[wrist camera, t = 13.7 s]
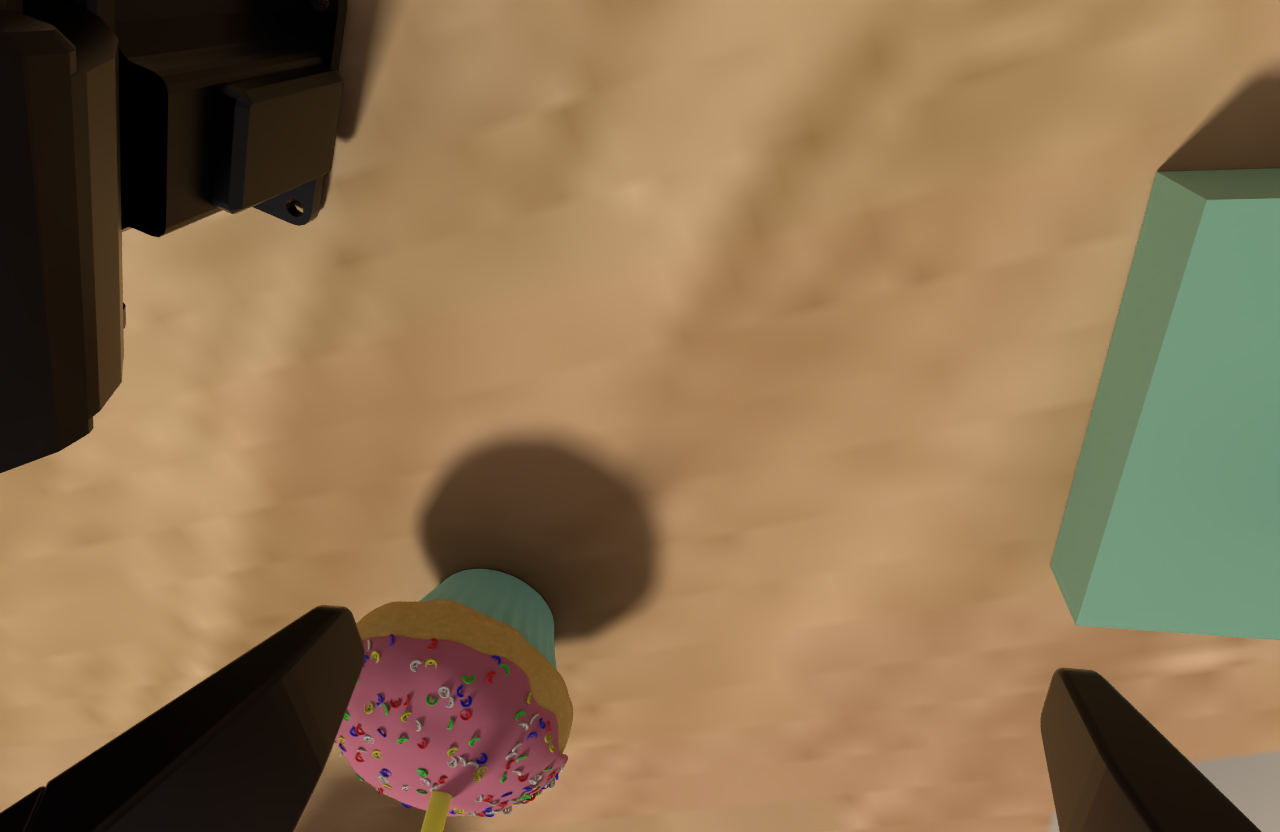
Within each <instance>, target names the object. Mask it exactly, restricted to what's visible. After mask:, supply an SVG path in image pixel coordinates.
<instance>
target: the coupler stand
mask: <svg viewBox="0 0 1280 832" xmlns="http://www.w3.org/2000/svg"><path fill="white" fill-rule="evenodd" d="M1050 567H1051V569H1052V571H1053V574H1054V576H1055V578H1056V581H1057V583H1058V585H1059V588H1060V590H1061V592H1062V595H1063V597H1064V599H1065V602H1066V604H1067V606H1068V609H1069V611H1070V613H1071V616H1072V618H1073V620H1074V622H1075V625H1079V626H1092V627H1106V628H1120V629H1133V630H1147V631H1161V632H1174V633H1188V634H1202V635H1215V636H1229V637H1243V638H1256V639H1270V640H1280V168H1269V169H1234V170H1199V171H1164V172H1156V176H1155V179H1154V183H1153V187H1152V190H1151V194H1150V198H1149V201H1148V205H1147V209H1146V213H1145V216H1144V220H1143V224H1142V227H1141V231H1140V235H1139V239H1138V242H1137V246H1136V250H1135V253H1134V257H1133V261H1132V264H1131V268H1130V272H1129V276H1128V279H1127V283H1126V287H1125V290H1124V294H1123V298H1122V302H1121V305H1120V309H1119V313H1118V316H1117V320H1116V324H1115V327H1114V331H1113V335H1112V339H1111V342H1110V346H1109V350H1108V353H1107V357H1106V361H1105V365H1104V368H1103V372H1102V376H1101V379H1100V383H1099V387H1098V390H1097V394H1096V398H1095V402H1094V405H1093V409H1092V413H1091V416H1090V420H1089V424H1088V428H1087V431H1086V435H1085V439H1084V442H1083V446H1082V450H1081V454H1080V457H1079V461H1078V465H1077V468H1076V472H1075V476H1074V479H1073V483H1072V487H1071V491H1070V494H1069V498H1068V502H1067V505H1066V509H1065V513H1064V517H1063V520H1062V524H1061V528H1060V531H1059V535H1058V539H1057V542H1056V546H1055V550H1054V554H1053V557H1052V561H1051V565H1050Z"/></svg>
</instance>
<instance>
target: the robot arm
mask: <svg viewBox="0 0 1280 832" xmlns="http://www.w3.org/2000/svg"><path fill="white" fill-rule="evenodd" d="M346 10H347V0H329V5H328V8H327V9H325V8H324V7H323V6H322V5H321V4H320V2H319V0H0V473H2V472H5V471H8V470H10V469H13V468H16V467H18V466H21V465H24V464H26V463H29V462H32V461H35V460H37V459H40V458H43V457H45V456H48V455H51V454H53V453H56V452H59V451H61V450H62V449H64V448H66V447H67V446H69V445H71V444H72V443H74V442H76V441H77V440H79V439H81V438H82V437H84V436H86V435H87V434H89V433H90V432H91V430H92V429H93V416H94V415H95V414H97V413H98V412H99V411H100V410H101V409H102V408H103V406H104V405H105V404H106V402H107V401H108V400H109V398H110V397H111V395H112V394H113V393H114V391H115V390H116V389H117V387H118V386H119V385H120V383H121V382H122V369H123V357H124V339H123V329H124V328H125V325H126V309H125V304H124V303H123V282H122V232H124V231H126V230H129V229H131V228H134V229H137V230H139V231H142V232H144V233H146V234H149V235H151V236H155V237H161V236H163V235H165V234H168V233H170V232H172V231H175V230H177V229H179V228H182V227H184V226H186V225H189V224H191V223H194V222H196V221H198V220H201V219H203V218H205V217H208V216H210V215H212V214H215V213H217V212H220V211H222V210H224V211H226V212H229V213H231V214H237V213H239V212H241V211H243V210H246V209H248V208H250V207H254V208H256V209H259V210H261V211H263V212H266V213H268V214H270V215H273V216H275V217H277V218H280V219H282V220H284V221H287V222H289V223H291V224H294V225H299V226H300V225H305V224H307V223H309V222H311V221H313V220H314V219H315V218H316V217H317V216H318V213H319V208H320V201H321V194H322V186H323V179H324V175H325V174H327V173H329V172H330V170H331V167H332V160H333V153H334V146H335V139H336V132H337V124H338V117H339V110H340V103H341V96H342V89H343V82H342V79H341V77H340V75H339V72H338V69H339V61H340V54H341V47H342V39H343V32H344V25H345V17H346ZM294 199H296V200H297V201H299V202H300V203H301V205H302V206H303V213H302V212H300V211H299V210H297V208H296V206H295V204H294ZM364 660H365V648H364V645H363V642H362V639H361V636H360V633H359V631H358V628H357V625H356V622H355V619H354V617H353V614H352V612H351V611H350V610H349V609H348V608H346V607H341V606H329V605H321V606H318V607H315V608H314V609H312V610H310V611H309V612H307V613H306V614H304V615H303V616H301V617H300V618H298V619H297V620H295V621H294V622H292V623H291V624H289V625H287V626H286V627H284V628H283V629H281V630H280V631H278V632H277V633H275V634H274V635H272V636H271V637H269V638H268V639H266V640H265V641H263V642H261V643H260V644H258V645H257V646H255V647H254V648H252V649H251V650H249V651H248V652H246V653H245V654H243V655H242V656H240V657H239V658H237V659H235V660H234V661H232V662H231V663H229V664H228V665H226V666H225V667H223V668H222V669H220V670H219V671H217V672H216V673H214V674H212V675H211V676H209V677H208V678H206V679H205V680H203V681H202V682H200V683H199V684H197V685H196V686H194V687H193V688H191V689H190V690H188V691H186V692H185V693H183V694H182V695H180V696H179V697H177V698H176V699H174V700H173V701H171V702H170V703H168V704H167V705H165V706H164V707H162V708H160V709H159V710H157V711H156V712H154V713H153V714H151V715H150V716H148V717H147V718H145V719H144V720H142V721H141V722H139V723H138V724H136V725H134V726H133V727H131V728H130V729H128V730H127V731H125V732H124V733H122V734H121V735H119V736H118V737H116V738H115V739H113V740H111V741H110V742H108V743H107V744H105V745H104V746H102V747H101V748H99V749H98V750H96V751H95V752H93V753H92V754H90V755H89V756H87V757H85V758H84V759H82V760H81V761H79V762H78V763H76V764H75V765H73V766H72V767H70V768H69V769H67V770H66V771H64V772H62V773H61V774H59V775H58V776H56V777H55V778H53V779H52V780H50V781H49V782H48V783H47V785H46V787H44V786H42V787H39V788H38V789H36V790H35V791H33V792H32V793H30V794H29V795H27V796H26V797H24V798H22V799H21V800H19V801H18V802H16V803H15V804H13V805H12V806H10V807H9V808H7V809H6V810H4V811H2V812H1V813H0V832H293V831H294V829H295V827H296V825H297V823H298V821H299V819H300V817H301V815H302V813H303V811H304V809H305V807H306V805H307V803H308V801H309V799H310V797H311V795H312V793H313V791H314V789H315V787H316V784H317V782H318V780H319V778H320V776H321V774H322V772H323V769H324V767H325V765H326V762H327V760H328V757H329V755H330V752H331V750H332V747H333V744H334V742H335V739H336V737H337V734H338V731H339V729H340V726H341V723H342V721H343V718H344V715H345V713H346V710H347V708H348V705H349V702H350V700H351V697H352V694H353V692H354V689H355V686H356V684H357V681H358V679H359V676H360V673H361V671H362V668H363V665H364ZM1041 734H1042V740H1043V745H1044V751H1045V756H1046V761H1047V766H1048V772H1049V777H1050V782H1051V788H1052V793H1053V798H1054V804H1055V809H1056V814H1057V820H1058V825H1059V830H1060V832H1261V831H1260V830H1259V829H1258V828H1257V827H1256V826H1255V825H1254V824H1253V823H1252V822H1251V821H1250V820H1249V819H1248V818H1247V817H1246V816H1245V815H1244V814H1243V813H1242V812H1241V811H1240V810H1239V809H1238V808H1237V807H1236V806H1235V805H1234V804H1233V803H1232V802H1231V801H1230V800H1229V799H1228V798H1226V797H1225V796H1224V794H1222V793H1221V792H1220V791H1219V790H1218V789H1217V788H1216V787H1215V786H1214V785H1213V784H1212V783H1211V782H1210V781H1209V780H1208V779H1207V778H1206V777H1205V776H1204V775H1203V774H1202V773H1201V772H1200V771H1199V770H1198V769H1197V768H1196V767H1195V766H1194V765H1193V764H1192V763H1191V762H1190V761H1189V760H1188V759H1187V758H1186V757H1185V756H1184V755H1183V754H1181V753H1180V752H1179V751H1178V750H1177V749H1176V748H1175V747H1174V746H1173V745H1172V744H1171V743H1170V742H1169V741H1168V740H1167V739H1166V738H1165V737H1164V736H1163V735H1162V734H1161V733H1160V732H1159V731H1158V730H1157V729H1156V728H1155V727H1154V726H1153V725H1152V724H1151V723H1150V722H1149V721H1148V720H1147V719H1146V718H1145V717H1144V716H1143V715H1142V714H1141V713H1139V712H1138V711H1137V710H1136V709H1135V708H1134V707H1133V706H1132V705H1131V704H1130V703H1129V702H1128V701H1127V700H1126V699H1125V698H1124V697H1123V696H1122V695H1121V694H1120V693H1119V692H1118V691H1117V690H1116V689H1115V688H1114V687H1113V686H1112V685H1111V684H1110V683H1109V682H1108V681H1107V680H1106V679H1105V678H1104V677H1102V676H1101V675H1100V674H1098V673H1097V672H1095V671H1092V670H1084V669H1072V668H1059V669H1057V670H1056V671H1055V673H1054V674H1053V677H1052V680H1051V683H1050V687H1049V690H1048V693H1047V696H1046V700H1045V703H1044V706H1043V710H1042V713H1041Z"/></svg>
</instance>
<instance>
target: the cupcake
mask: <svg viewBox="0 0 1280 832" xmlns="http://www.w3.org/2000/svg"><path fill="white" fill-rule="evenodd" d="M356 625H357V628H358V631H359V633H360V636H361V639H362V642H363V645H364V648H365V660H364V665H363V668H362V671H361V673H360V676H359V679H358V681H357V684H356V686H355V689H354V692H353V694H352V697H351V700H350V702H349V705H348V708H347V710H346V713H345V715H344V718H343V721H342V723H341V726H340V729H339V731H338V734H337V737H336V739H335V743H337V745H338V746H339V748H340V750H341V751H340V756H342V754H344V756H345V758H346V759H347V761H348V762H349V764H350V765H351V767H352V768H353V769H354V771H355V772H356V773H357V777H358V779H359V780H360V781H367V782H368V783H369V784H371V785H372V786H374V787H375V788H377V791H378V792H379V794H380V795H382V794H386V795H387V796H389V797H391V798H394V799H396V800H398V801H400V802H401V803H402V804H403V806H405V807H406V808H411V807H412V806H413V807H416V808H419V809H422V810H425V813H426V815H425V818H424V822H423V825H422V829H421V832H443V830H444V826H445V822H446V819H447V816H457V817H463V816H465V815H470V816H477V815H478V816H481V817H484V816H487V817H493V816H494V813H499V812H501V811H502V812H503V813H504V814H505V815H509V814H510V813H511V811H512V806H513V805H519V804H521V805H525V804H527V803H528V802H529V801H532V800H534V799H535V797H536V796H539V795H540V794H541V792H542V790H543V789H546V788H548V787H549V788H550V789H553V787H554V785H555V778H556V780H558V773H559V772H562V771H563V767H564V766H565V764H566V762H567V760H568V756H567V755H565V754H562V753H563V751H564V749H565V746H566V744H567V741H568V738H569V734H570V730H571V725H572V720H573V706H572V702H571V700H570V698H569V694H568V690H567V687H566V684H565V682H564V680H563V678H562V676H561V675H560V674H559V672H558V671H557V668H556V661H555V650H554V620H553V616H552V613H551V611H550V609H549V607H548V605H547V603H546V602H545V601H544V599H543V598H542V597H541V596H540V595H539V594H538V593H537V592H536V591H535V590H534V589H533V588H532V587H530V586H529V585H528V584H526V583H525V582H523V581H521V580H520V579H518V578H516V577H514V576H511V575H509V574H506V573H503V572H500V571H495V570H490V569H469V570H464V571H460V572H458V573H455V574H453V575H451V576H450V577H448V578H447V579H445V580H444V581H443V582H442V583H441V584H440V585H439V586H437V587H436V588H435V589H434V590H433V591H432V592H430V593H429V594H428V595H427V596H425V597H424V598H423V599H422V600H420V601H419V602H391V603H388V604H385V605H383V606H381V607H379V608H376V609H374V610H373V611H371V612H370V613H368V614H367V615H366V616H364V617H363V618H362V619H361V620H360V621H359V622H358V623H357V624H356ZM360 777H361V778H362V779H361V778H360ZM552 781H553V783H551V782H552ZM548 783H549V784H548ZM552 784H553V785H552ZM551 785H552V786H551ZM539 791H540V792H539ZM538 792H539V793H538ZM535 793H536V794H535ZM532 795H533V798H532V797H531V796H532ZM530 797H531V799H530ZM524 800H525V801H526V802H523V801H524ZM405 804H406V805H405ZM505 809H506V810H507V812H505ZM508 809H509V811H508Z"/></svg>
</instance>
